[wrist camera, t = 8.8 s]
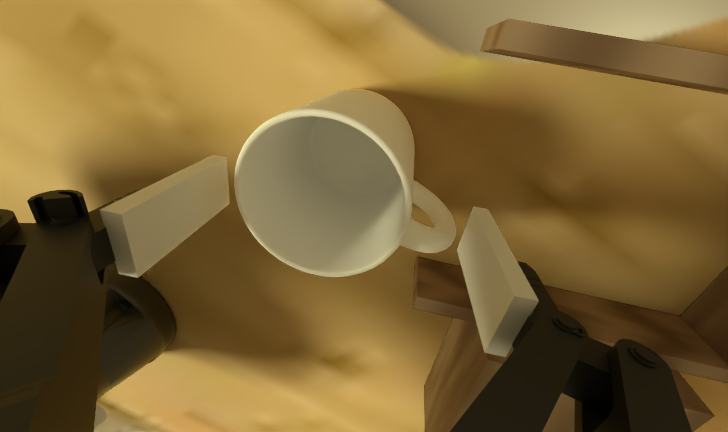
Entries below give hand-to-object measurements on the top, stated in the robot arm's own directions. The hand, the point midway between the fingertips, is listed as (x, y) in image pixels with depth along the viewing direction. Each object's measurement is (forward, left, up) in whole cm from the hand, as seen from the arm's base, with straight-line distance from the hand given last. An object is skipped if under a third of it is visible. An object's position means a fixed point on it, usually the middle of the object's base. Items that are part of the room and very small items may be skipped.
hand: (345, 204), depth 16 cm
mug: (+1, 0, -8) cm, 8 cm away
